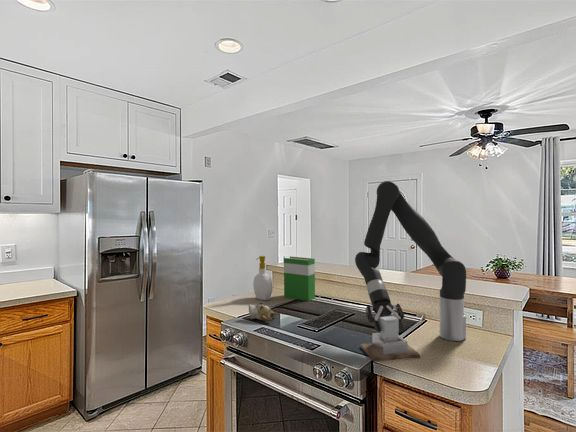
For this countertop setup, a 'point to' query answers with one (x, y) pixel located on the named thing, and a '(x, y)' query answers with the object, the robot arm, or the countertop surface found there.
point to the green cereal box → (299, 278)
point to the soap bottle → (262, 282)
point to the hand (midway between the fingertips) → (390, 330)
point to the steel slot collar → (389, 345)
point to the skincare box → (389, 328)
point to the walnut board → (377, 356)
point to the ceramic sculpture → (261, 312)
